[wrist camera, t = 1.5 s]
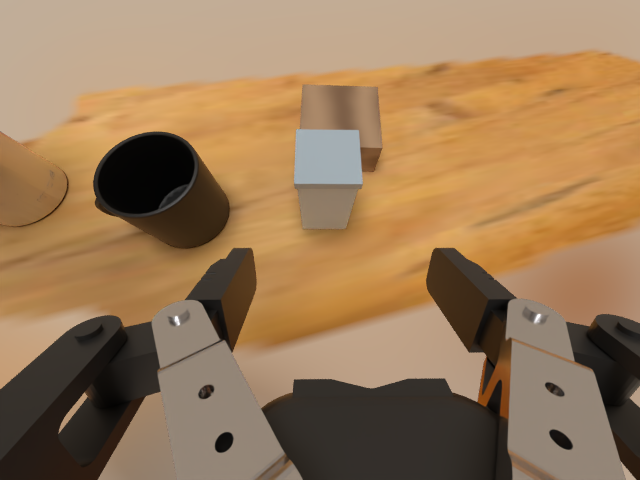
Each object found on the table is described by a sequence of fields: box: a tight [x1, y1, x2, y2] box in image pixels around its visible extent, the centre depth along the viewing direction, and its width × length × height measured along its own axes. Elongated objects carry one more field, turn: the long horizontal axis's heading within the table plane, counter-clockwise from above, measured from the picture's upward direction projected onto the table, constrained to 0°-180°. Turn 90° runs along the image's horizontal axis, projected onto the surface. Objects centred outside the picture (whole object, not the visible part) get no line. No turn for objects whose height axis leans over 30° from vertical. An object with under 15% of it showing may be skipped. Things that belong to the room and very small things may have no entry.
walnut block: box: [300, 85, 382, 172], centre depth 33 cm, size 10×10×5 cm
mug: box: [93, 132, 229, 248], centre depth 27 cm, size 9×12×9 cm
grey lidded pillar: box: [294, 129, 363, 229], centre depth 27 cm, size 6×6×11 cm
